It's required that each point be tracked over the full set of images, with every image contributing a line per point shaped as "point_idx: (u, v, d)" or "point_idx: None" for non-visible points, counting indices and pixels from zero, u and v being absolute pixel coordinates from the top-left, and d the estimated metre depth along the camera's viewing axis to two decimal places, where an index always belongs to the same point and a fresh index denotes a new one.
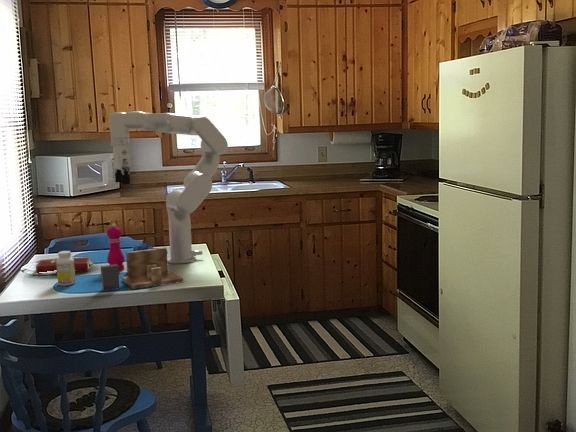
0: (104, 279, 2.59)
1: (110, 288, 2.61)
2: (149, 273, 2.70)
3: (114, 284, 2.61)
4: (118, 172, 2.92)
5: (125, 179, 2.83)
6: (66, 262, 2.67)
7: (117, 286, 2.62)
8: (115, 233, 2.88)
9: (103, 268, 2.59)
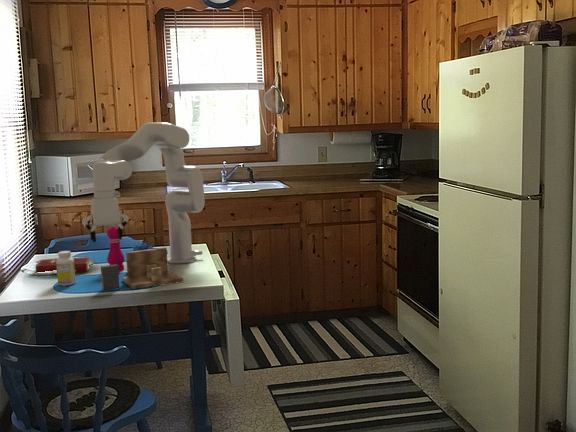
0: (104, 279, 2.59)
1: (110, 288, 2.61)
2: (149, 273, 2.70)
3: (114, 284, 2.61)
4: None
5: None
6: (66, 262, 2.67)
7: (117, 286, 2.62)
8: (115, 233, 2.88)
9: (103, 268, 2.59)
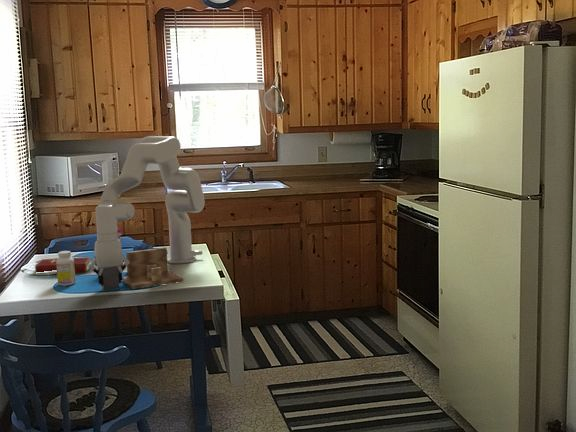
0: (104, 279, 2.59)
1: (110, 288, 2.61)
2: (149, 273, 2.70)
3: (114, 284, 2.61)
4: None
5: None
6: (66, 262, 2.67)
7: (117, 286, 2.62)
8: None
9: None
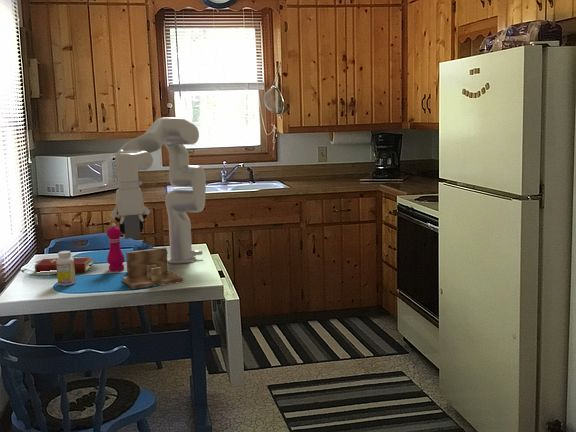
0: (125, 228, 2.61)
1: (131, 236, 2.62)
2: (149, 273, 2.70)
3: (135, 232, 2.62)
4: None
5: None
6: (66, 262, 2.67)
7: (138, 235, 2.63)
8: (115, 233, 2.88)
9: None
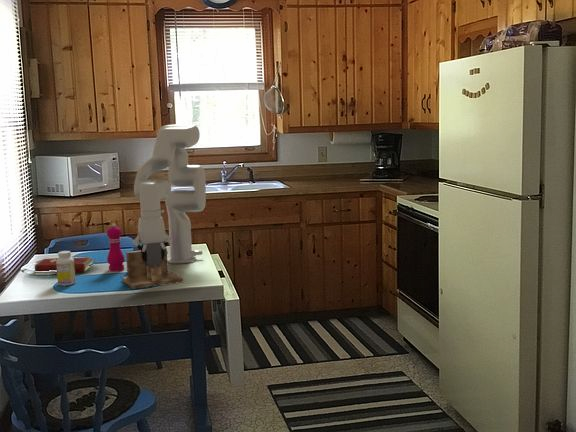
0: (148, 255, 2.66)
1: (153, 264, 2.67)
2: (149, 273, 2.70)
3: (156, 260, 2.68)
4: None
5: None
6: (66, 262, 2.67)
7: (160, 262, 2.68)
8: (115, 233, 2.88)
9: (147, 244, 2.65)
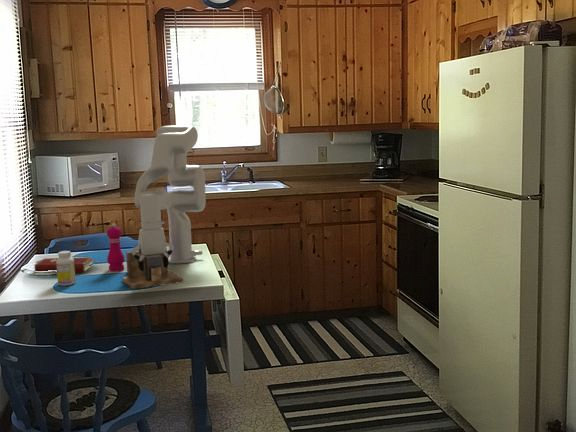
0: (148, 270, 2.67)
1: None
2: None
3: None
4: None
5: None
6: (66, 262, 2.67)
7: None
8: (115, 233, 2.88)
9: (147, 259, 2.66)
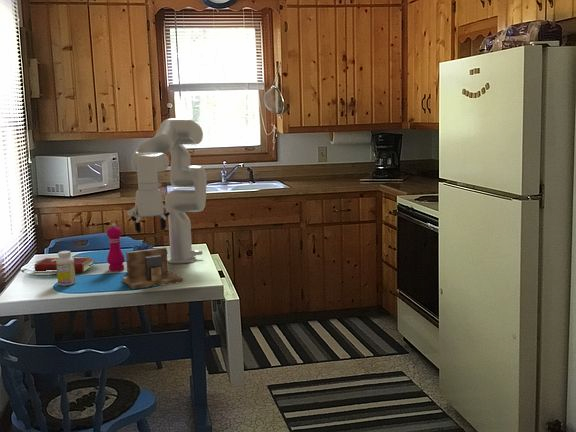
0: (148, 270, 2.67)
1: None
2: None
3: None
4: None
5: None
6: (66, 262, 2.67)
7: None
8: (115, 233, 2.88)
9: (147, 259, 2.66)
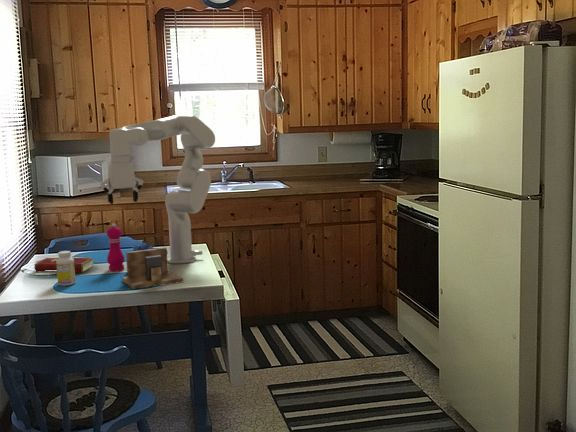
0: (148, 270, 2.67)
1: None
2: None
3: None
4: None
5: None
6: (66, 262, 2.67)
7: None
8: (115, 233, 2.88)
9: (147, 259, 2.66)
